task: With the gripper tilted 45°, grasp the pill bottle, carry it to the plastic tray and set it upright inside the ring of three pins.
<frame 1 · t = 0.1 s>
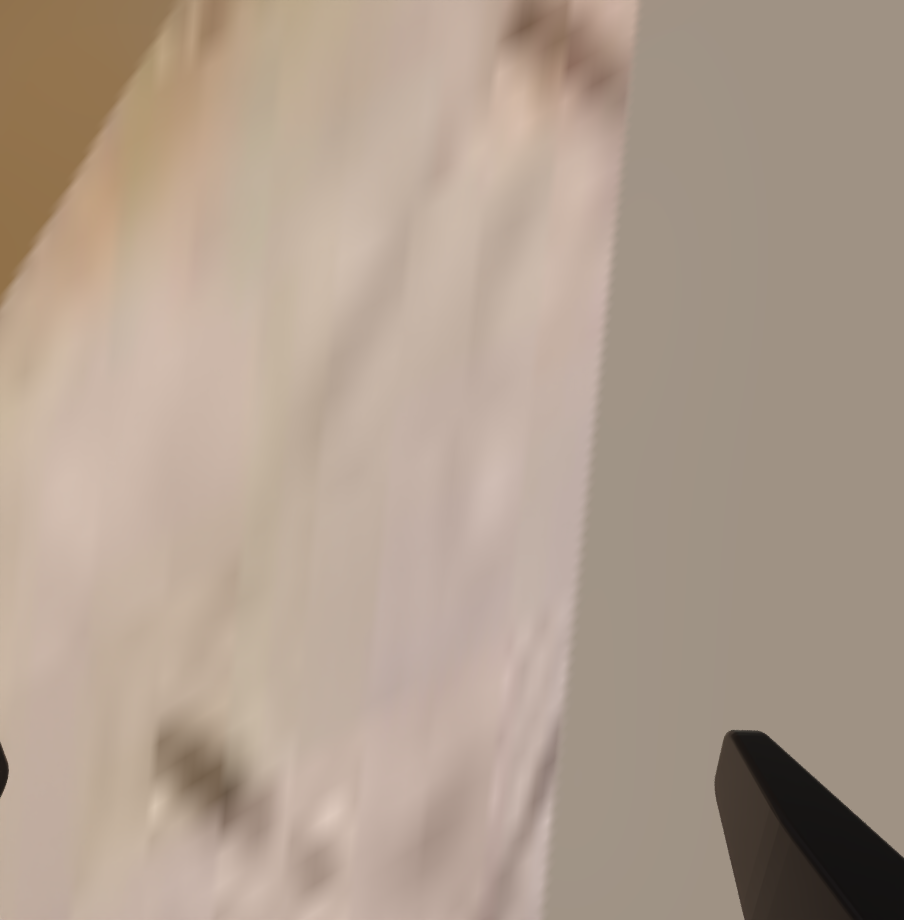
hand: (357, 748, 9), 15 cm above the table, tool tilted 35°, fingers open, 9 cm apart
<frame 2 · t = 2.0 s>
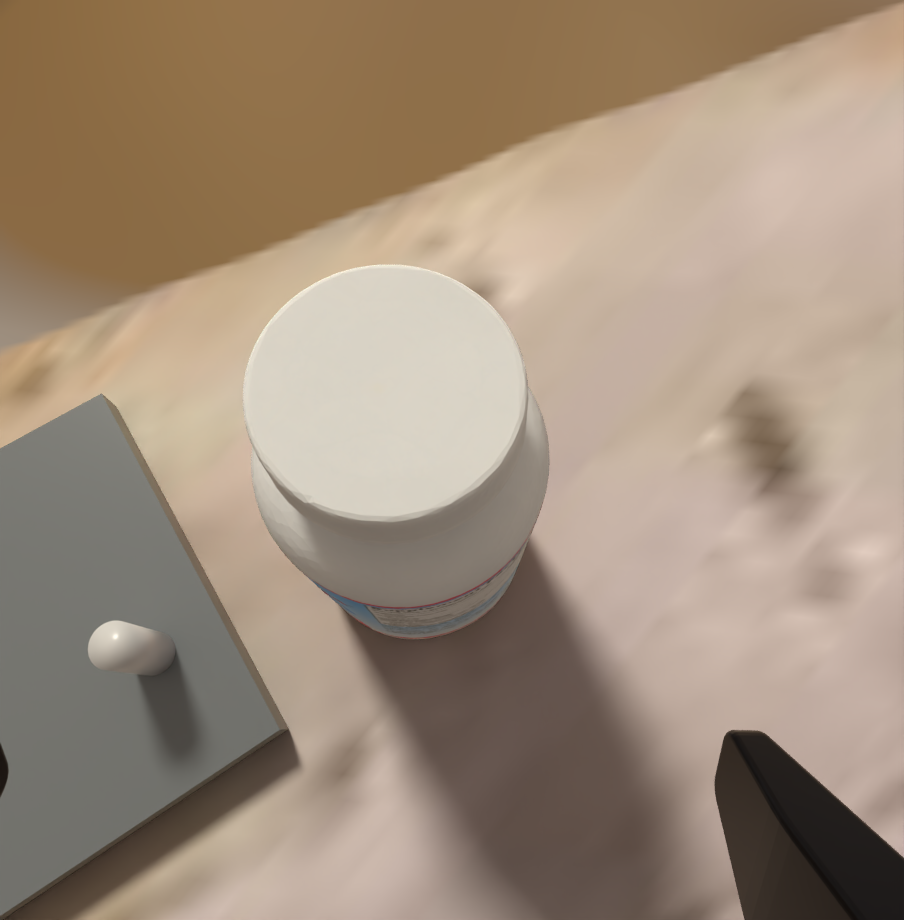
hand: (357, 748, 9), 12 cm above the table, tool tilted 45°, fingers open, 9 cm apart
pill bottle: (421, 544, 22), on the table
pin tray: (11, 665, 21), on the table
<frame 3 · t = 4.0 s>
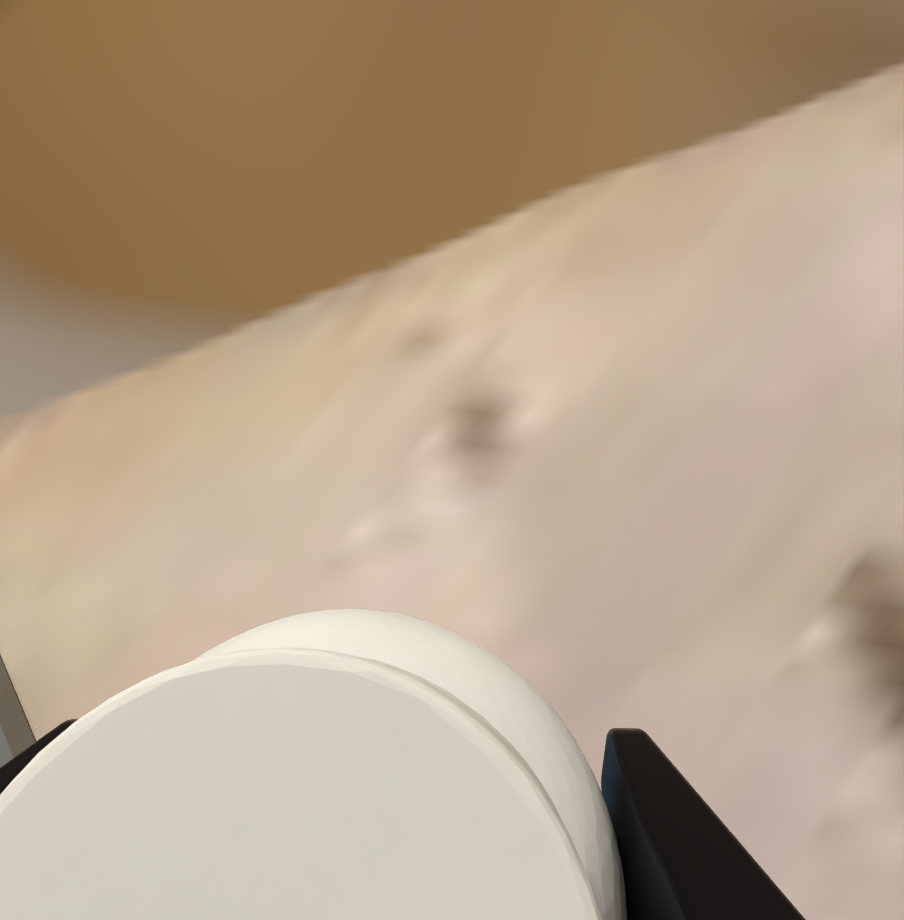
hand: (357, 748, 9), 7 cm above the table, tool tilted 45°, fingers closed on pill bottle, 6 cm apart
pill bottle: (400, 803, 15), on the table, touching gripper
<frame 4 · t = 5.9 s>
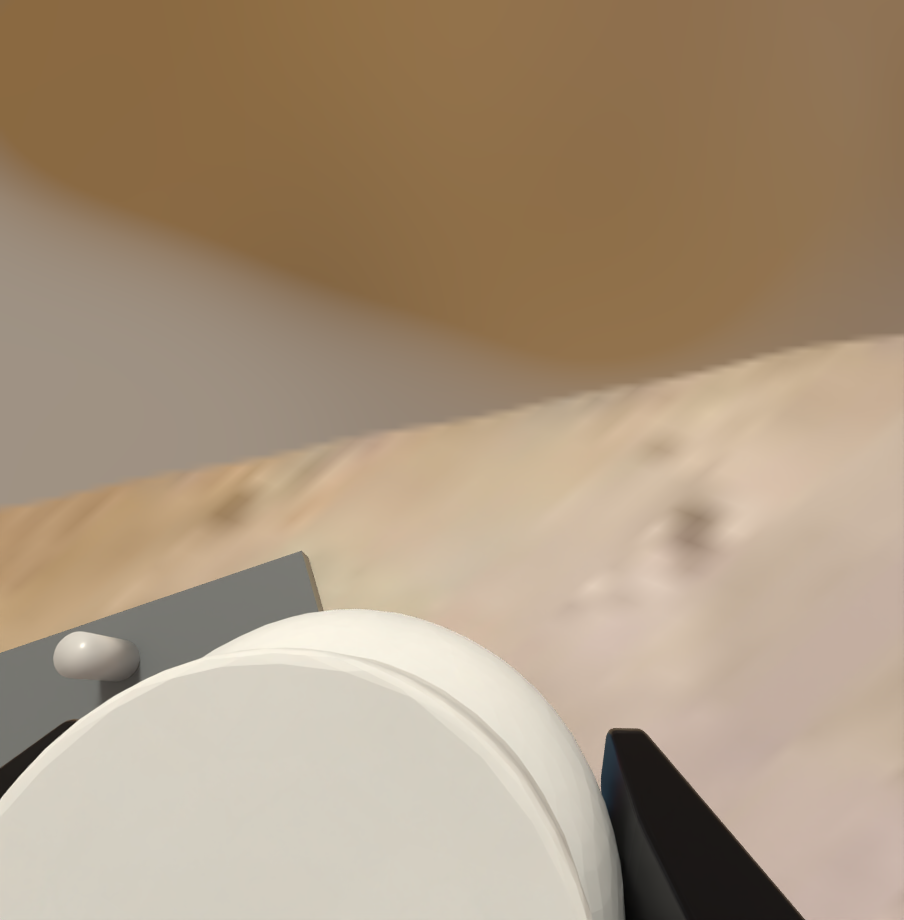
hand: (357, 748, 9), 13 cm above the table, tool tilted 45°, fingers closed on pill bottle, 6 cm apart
pill bottle: (408, 801, 15), point 6 cm above the table, touching gripper
pin tray: (163, 817, 20), on the table
when the fingers open (9 cm above the table, at t = 7.9 s): pill bottle stays where it is, resting on pin tray.
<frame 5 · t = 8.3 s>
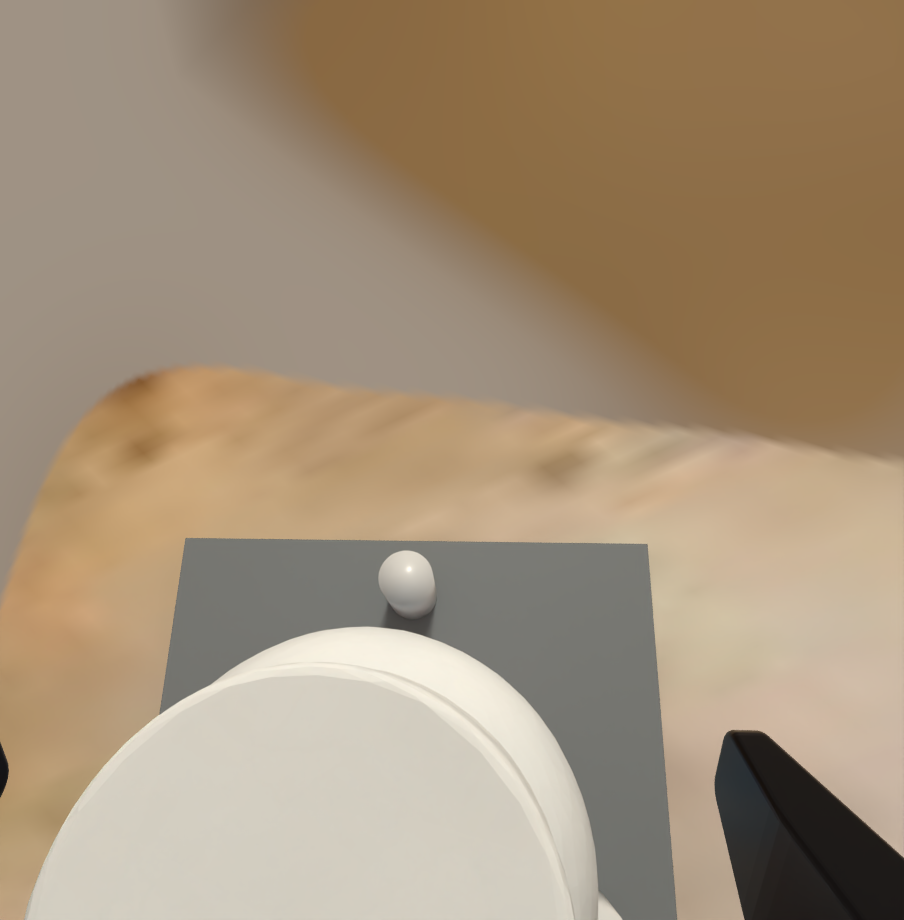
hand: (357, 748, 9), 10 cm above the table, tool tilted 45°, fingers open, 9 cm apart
pill bottle: (404, 803, 16), point 1 cm above the table, touching pin tray
pin tray: (409, 791, 17), on the table
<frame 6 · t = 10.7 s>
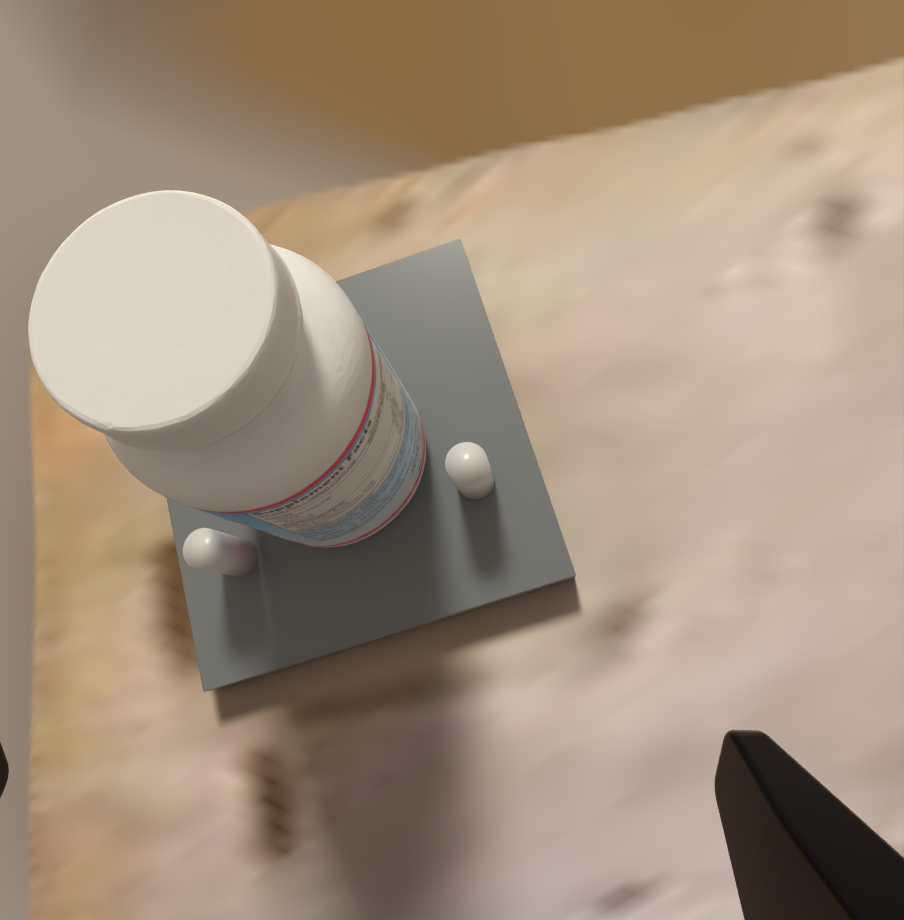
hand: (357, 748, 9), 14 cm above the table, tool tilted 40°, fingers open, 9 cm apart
pill bottle: (340, 459, 23), point 1 cm above the table, touching pin tray
pin tray: (347, 460, 24), on the table
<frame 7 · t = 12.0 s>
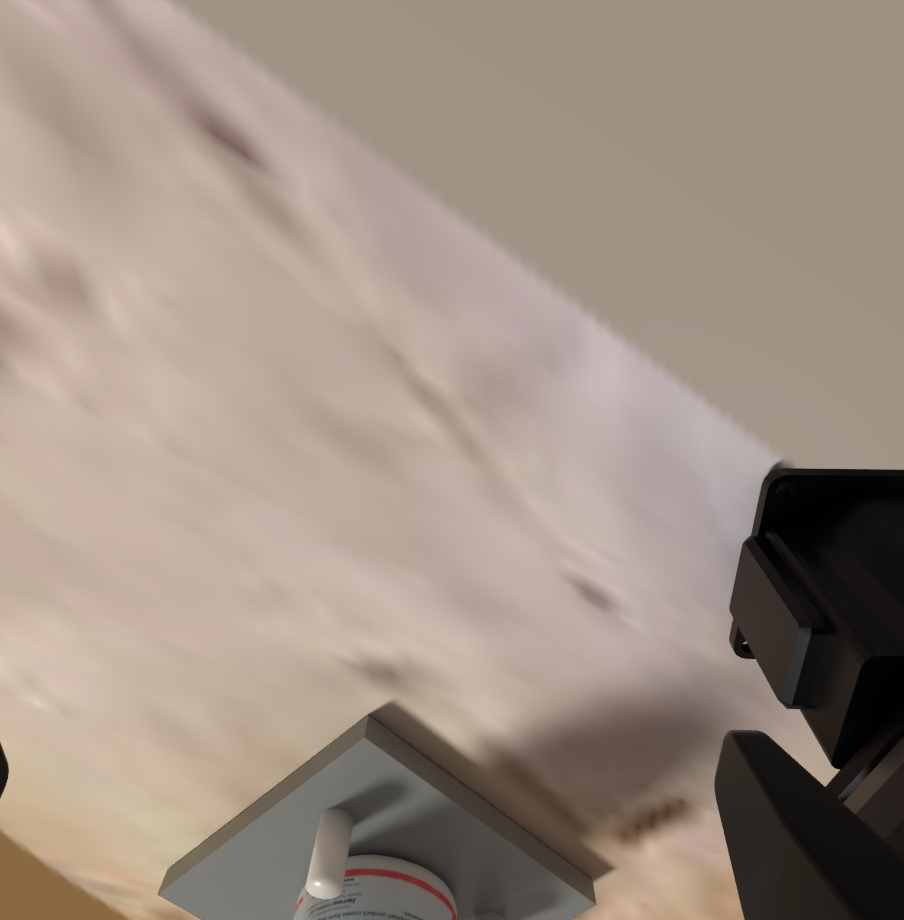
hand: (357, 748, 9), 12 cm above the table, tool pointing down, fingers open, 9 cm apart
pill bottle: (379, 893, 27), point 1 cm above the table, touching pin tray
pin tray: (378, 874, 28), on the table
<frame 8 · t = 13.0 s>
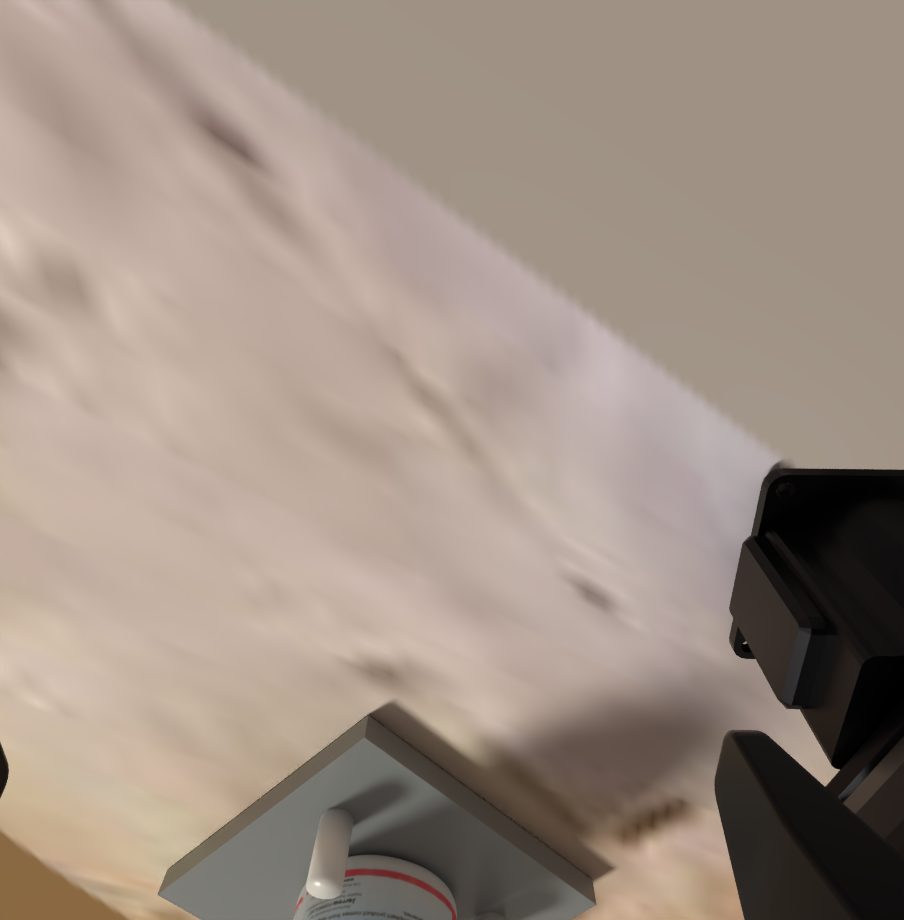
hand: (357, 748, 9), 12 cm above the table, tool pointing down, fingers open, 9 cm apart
pill bottle: (380, 893, 27), point 1 cm above the table, touching pin tray
pin tray: (378, 874, 28), on the table
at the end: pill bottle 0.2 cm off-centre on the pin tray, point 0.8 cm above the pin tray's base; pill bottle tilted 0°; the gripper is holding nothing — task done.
